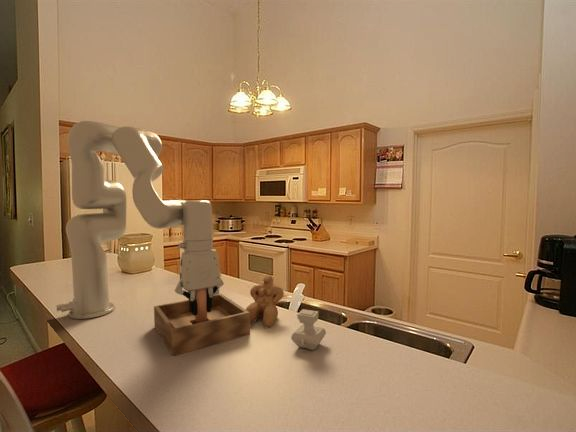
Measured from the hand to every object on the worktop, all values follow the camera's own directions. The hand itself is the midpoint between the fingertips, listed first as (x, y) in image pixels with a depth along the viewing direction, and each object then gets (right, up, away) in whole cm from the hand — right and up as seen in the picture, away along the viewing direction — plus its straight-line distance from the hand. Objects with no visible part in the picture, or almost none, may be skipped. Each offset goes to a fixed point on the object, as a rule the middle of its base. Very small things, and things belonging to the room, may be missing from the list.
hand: (200, 311), depth 88 cm
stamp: (+29, -6, -9) cm, 31 cm away
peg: (0, -2, 0) cm, 2 cm away
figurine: (+17, -5, +8) cm, 19 cm away
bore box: (0, -5, 0) cm, 5 cm away
